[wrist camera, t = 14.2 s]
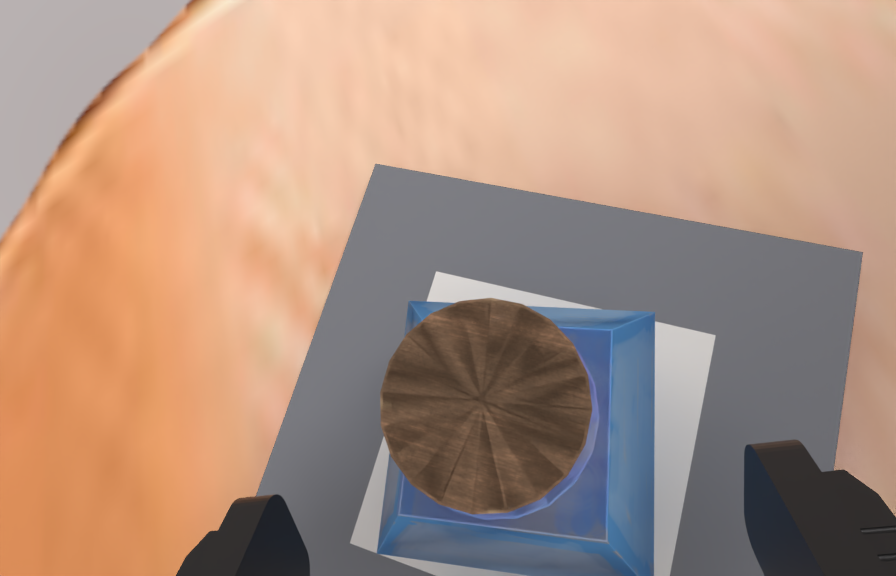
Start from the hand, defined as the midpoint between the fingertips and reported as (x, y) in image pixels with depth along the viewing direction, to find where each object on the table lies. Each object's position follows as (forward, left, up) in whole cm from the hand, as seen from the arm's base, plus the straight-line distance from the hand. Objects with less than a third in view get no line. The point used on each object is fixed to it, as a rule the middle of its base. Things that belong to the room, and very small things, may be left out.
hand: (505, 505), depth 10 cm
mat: (+1, -2, -11) cm, 11 cm away
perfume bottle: (0, -1, -10) cm, 10 cm away
